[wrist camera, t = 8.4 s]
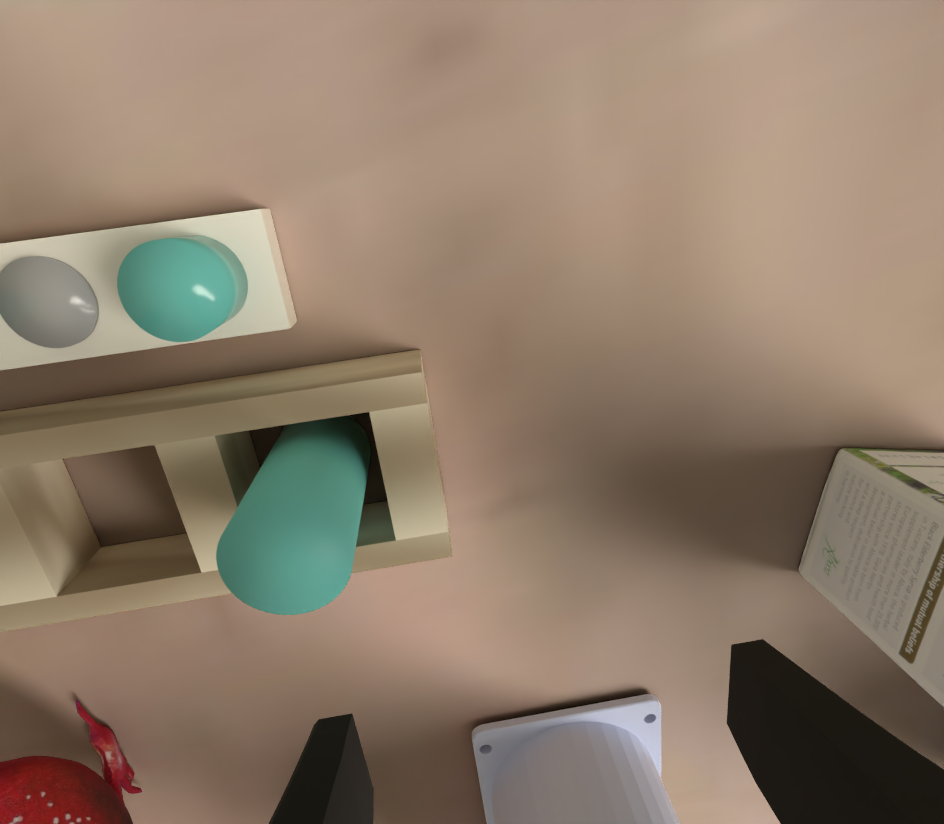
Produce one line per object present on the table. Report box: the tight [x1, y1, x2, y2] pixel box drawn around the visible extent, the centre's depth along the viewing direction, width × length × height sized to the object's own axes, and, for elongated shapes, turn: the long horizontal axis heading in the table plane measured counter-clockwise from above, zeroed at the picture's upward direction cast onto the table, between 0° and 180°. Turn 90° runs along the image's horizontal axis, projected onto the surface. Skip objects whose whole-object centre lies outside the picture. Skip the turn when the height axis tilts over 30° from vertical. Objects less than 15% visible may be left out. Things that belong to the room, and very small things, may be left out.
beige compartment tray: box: [0, 349, 452, 632], centre depth 15 cm, size 6×19×6 cm, turn 97°
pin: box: [216, 415, 371, 615], centre depth 15 cm, size 3×3×6 cm
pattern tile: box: [0, 209, 297, 371], centre depth 14 cm, size 3×12×3 cm, turn 97°
